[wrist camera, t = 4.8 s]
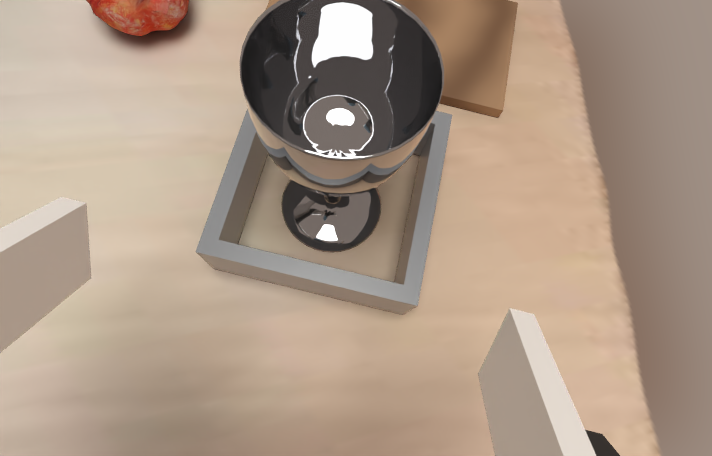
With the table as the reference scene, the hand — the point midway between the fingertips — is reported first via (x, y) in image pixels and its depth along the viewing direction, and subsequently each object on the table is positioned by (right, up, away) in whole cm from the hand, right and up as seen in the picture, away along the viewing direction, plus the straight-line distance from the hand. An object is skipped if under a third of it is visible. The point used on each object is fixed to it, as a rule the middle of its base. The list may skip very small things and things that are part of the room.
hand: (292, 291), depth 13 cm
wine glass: (0, +4, +18) cm, 18 cm away
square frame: (0, +4, +17) cm, 18 cm away
